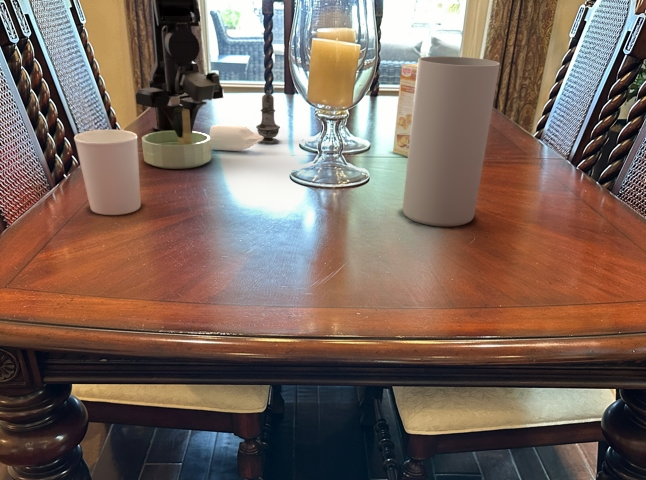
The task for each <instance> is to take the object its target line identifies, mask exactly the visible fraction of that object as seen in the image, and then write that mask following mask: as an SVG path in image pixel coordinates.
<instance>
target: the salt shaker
mask: <svg viewBox="0 0 646 480" xmlns="http://www.w3.org/2000/svg"><path fill="white" fill-rule="evenodd" d="M274 102H275V97H274V95H272V94H270V91H269V90H268V89H267V90H266V93H265V94H264V95H262V97H261V109H260V112H261V122H260V124H257V125H256V126H255V128H256V129H257V134H259V135H261V136H263V137H264V138H263V139H262V140H261V141H259V142H258V143H259V144H263V145H275V144H279V143H280V140H278V139H277V138H276V137H277V136H278V134H279V133H280V129H281V126H280V125H278V124H276V121H275V112H276V110H275V103H274Z"/></svg>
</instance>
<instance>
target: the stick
mask: <svg viewBox="0 0 646 480" xmlns="http://www.w3.org/2000/svg"><path fill="white" fill-rule="evenodd" d="M181 115H182V129H183V132H182V138H180V137H178V141H179V145H187V144H192V140H191V126H190V111H189V110H188V109H184V108H183V110H182V112H181Z"/></svg>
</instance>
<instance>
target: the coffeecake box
mask: <svg viewBox="0 0 646 480" xmlns="http://www.w3.org/2000/svg"><path fill="white" fill-rule="evenodd" d="M417 65H418V63H408V64H401V68H400V78H399V86H398V87H399V89H398V97H397V98H398V99H397V107H396V118H395V128H394V138H393V147H392V153H395V154H398V155H401V156H404V157H407V158H408V151H409V142H410V132H411V123H412V113H413V103H414V94H415V84H416V75H417Z"/></svg>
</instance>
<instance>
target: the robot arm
mask: <svg viewBox="0 0 646 480" xmlns="http://www.w3.org/2000/svg"><path fill="white" fill-rule="evenodd" d="M150 2H151V3H150V4H151V15H152V28H153V40H154V41H153V42H154V53H155V61H154V63H153V65H152V67H151V70H150V71H149V72H150V80H148V87H145V88H138V89H137V91H136V92H135V103H136V105H140V106H145V107H149V108H152V109H153V108H154V111H155V121H156V126H152V127H151V130H153V131H156V132H160V131H175V132H176V134H177V136H178V137H180V138H182V132H183V129H182V115H181V112H182V110H183V108H184V109H188V110H189V111H190V126H191V133H192V131H193V129H194V125H195V122H196V119H197V115H198V112H199V110H200V109H201V108H202V107H203V106H204V105H207V104H208V102H207V101H212V100H218V99H224V88H223V86H222V85H221V80H220V74H219V73H217V72H215V71H213V72H207V73H203V74H202V73H200V70H199V69H200V68H199V65H198V63H197V62H194V61H195V60H196V59H197V58H198V56H199V53H200V48H201V47H200V42H199V40H198V38H197V37H196V35H195V34H194V33H193V32H192V27H200V24H199V23H200V22H201V13H200V8H199V2H198V0H150ZM206 100H207V101H206Z"/></svg>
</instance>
